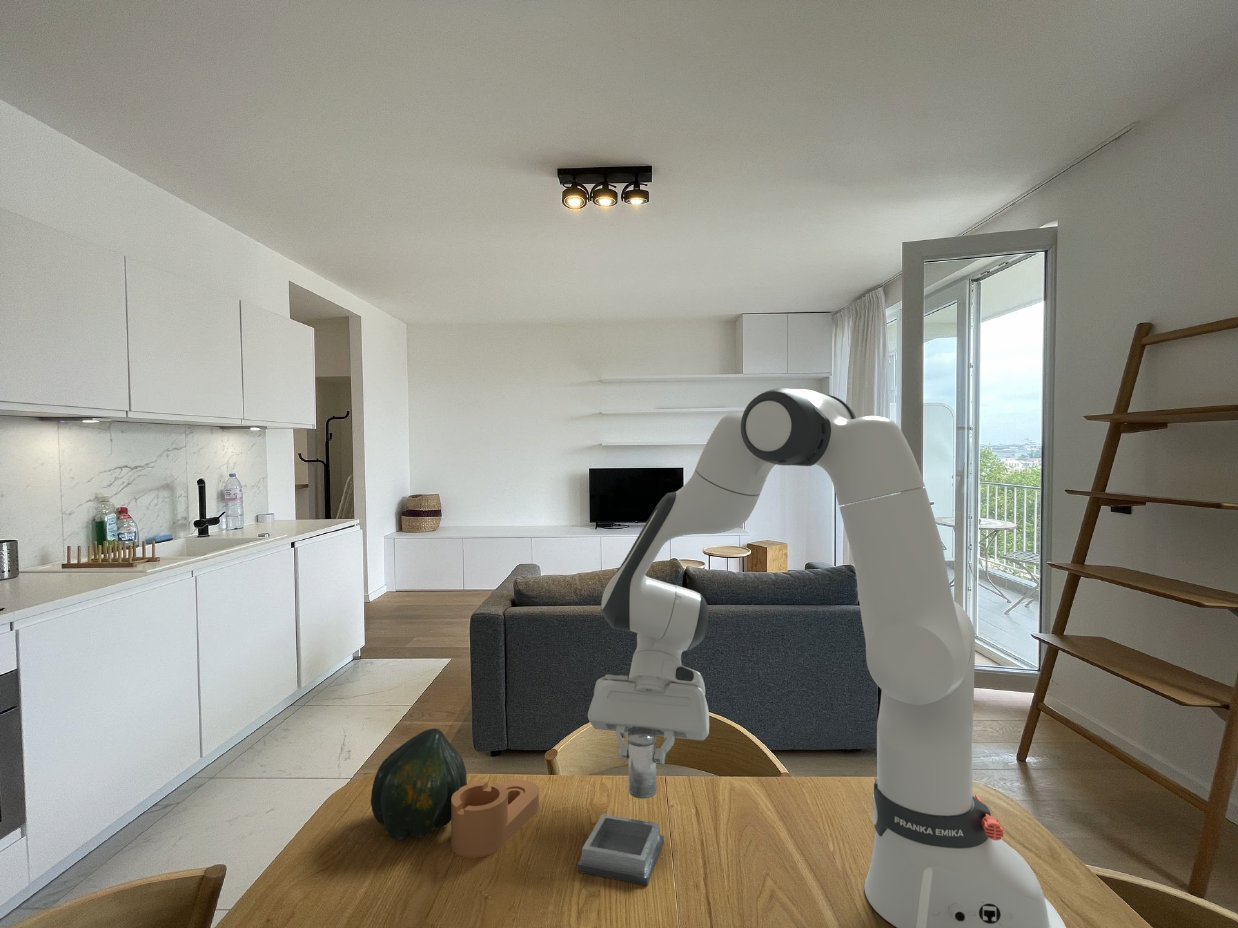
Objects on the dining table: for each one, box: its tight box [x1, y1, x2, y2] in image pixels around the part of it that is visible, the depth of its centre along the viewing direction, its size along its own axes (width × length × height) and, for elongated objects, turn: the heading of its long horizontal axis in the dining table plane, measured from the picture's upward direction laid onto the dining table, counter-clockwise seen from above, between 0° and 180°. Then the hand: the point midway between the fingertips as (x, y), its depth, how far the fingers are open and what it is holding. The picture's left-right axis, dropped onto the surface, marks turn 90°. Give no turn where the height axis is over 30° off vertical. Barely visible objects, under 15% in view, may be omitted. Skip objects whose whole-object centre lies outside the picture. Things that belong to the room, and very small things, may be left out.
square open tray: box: [576, 813, 665, 886], centre depth 89 cm, size 10×10×3 cm
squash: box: [370, 727, 468, 841], centre depth 97 cm, size 14×15×15 cm
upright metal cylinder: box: [627, 729, 657, 799], centre depth 98 cm, size 4×4×9 cm
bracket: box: [450, 778, 540, 859], centre depth 97 cm, size 18×8×7 cm, turn 158°
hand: (641, 759), depth 98 cm, fingers closed on upright metal cylinder, 4 cm apart
